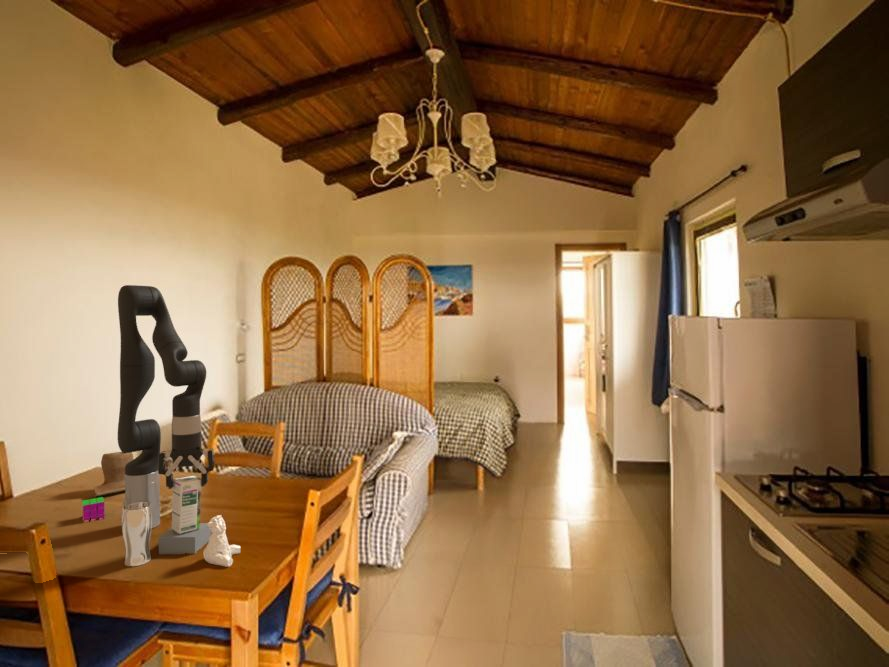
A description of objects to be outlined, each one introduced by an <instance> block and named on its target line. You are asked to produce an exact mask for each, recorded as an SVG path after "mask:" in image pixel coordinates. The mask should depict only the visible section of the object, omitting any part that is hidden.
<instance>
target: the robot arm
mask: <svg viewBox="0 0 889 667" xmlns="http://www.w3.org/2000/svg"><path fill="white" fill-rule="evenodd" d="M117 308H118V311H117V312H118V321H119V332H120V356H119V379H120V380H119V382H120V383H119V384H120V389H119V390H120V394H119V395H120V397H119V400H120V401H119V415H118V424H117V444H118V448H119V450H120V452H124V453H131V452H132V453H135V452H139V451H140V454H139V455H137V457H136V458H133V459H134V460H132V461H130V462H129V463H127V464H126V465H125V491H124V492H125V494H124V495H125V496H124V499H123V500H122V508H123V507H124V506H126V505H128V504H131V503H136V502H150V503H151V511H152V528H151V529H154V528H156V527H158V526H159V525H160V524H161V503H160V501H161V500H160V495H161V494H160V475H164V476H165V487H166V488H168V490H173V479H174V474H173V472H174V470H176V468H177V467H180V468H185V467H193V466H195V467H196V468H197V469H199V471H200V472H201V475H200V476H201V478H200V479H201V488H202V487H205V486H206V485H207V484H208V481H209V476H208V475H209V472H212V471H214V469H215V467H216V464H215V455H214V454H215V452H214V449H213V448H210V449H205V450H203V448H202V428H203V427H202V419H201V396H202V393H203V390H204V386H205V384H206V379H207V369H206V366H205V364H204V363H203V362H202V361H201V360H199V359H198V360H196V359H193V360H192V359H191V360H185V359H186V358H187V356H188V350H187V347H186V346H185V344H184V342H183V341H182V339H181V337H180V335H179V333H177V330H176V329H175V326H174V323H173V320H172V319H171V315H170V313H169V310H168V307H167V305H166V301H165V298H164V296H163V295H162V293H161V291H160V289H159V288H157V287H156V286H150V285H135V284H134V285H133V284H130V285H129V284H127V285H125V284H124V285H123V286H122V287H120V288H119V291H118V294H117ZM137 316H140V317H142V316H143V317H145V316H146V317H147V316H149V317H150V316H151V317H152V318H153V319H154V320H155V326H154V329H153V332H152V336H151V337H152V338H151V339H152V343H153V347H154V349H155V351H156V352H157V353H158V355H159V357H160V359H161V362H162V368H163V374H164V379H165V381H166V383H167V384H169V385H171V387H177V388H178V387H184V386H185V387H186V386H187V387H186V389H185V391H183V392H180V393H179V394H176V395H174V396H173V398H172V403H171V404H172V405H171V406H172V410H171V412H172V413H171V414H172V419H171V452H170V451H169V452H167V451H165V450H163V451H162V452H161V445H162V444H161V443H162V442H161V440H162V438H161V436H162V435H161V434H162V433H161V427H160V426H161V425H160V424H159V423H158V421H157V420H156V419H154V418H153V419H152V418H147V419H142V420H136V417H137V413H138V409H139V407H140V404H141V403H142V401H143V399H144V398H145V396H146V395H147V393H148V392H149V390H150V389H151V387H152V385H153V383H154V380H155V376H156V373H155V371H156V370H155V369H156V363H155V362H156V359H155V358H156V357H155V356H154V353H153V351H152V350H151V349H150V347H149V346H148V344H147V343H146V342H145V340H144V339H143V337H142V336H141V334H140V332H139V329H138V323H137ZM203 455H204V456H205V458H207V463H208V466H206V464H205V462H204V461H203V460H202V459H201V457H203ZM169 457H170V458H171V459H172V461H173V463H172V465H171V466H170V467H169V468H166V466H167V465H166V464H167V460H168V459H169Z"/></svg>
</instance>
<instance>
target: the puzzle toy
mask: <svg viewBox="0 0 889 667" xmlns="http://www.w3.org/2000/svg"><path fill="white" fill-rule="evenodd" d="M81 509H82V510H81V511H82V516H83V518H82V522H83V521H85V520H90V518H91V519H97V520H98V518H104V517H105V516H106V515H105V500H104V497H103V496H99V497H96V498H95V497H94V498H91V499H84V500H81ZM97 516H98V518H97ZM90 521H91V520H90Z"/></svg>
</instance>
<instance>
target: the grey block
mask: <svg viewBox="0 0 889 667" xmlns="http://www.w3.org/2000/svg"><path fill="white" fill-rule="evenodd" d="M207 523H208V522H200V529H197V530H193V531H189V532H185V533H182V534H179V533H177V532H176V531H174V530H173V529H172V527H170V528H169V529H168V530H166V531H165V532H164V533H163V534H161V535H160V536H158V555H186V554H185V553H187V555H189V554H190V555H192V554H193V555H194V554H195V555H196V554H197V553H198V552H197V551H198V550H199V549H200V550H201V549H202V548H203V547H204V546H205V545H206V544H208V541H209V537H210V535H212V532H211V530H210V529H209V527H208V526H207ZM200 550H199V551H200ZM188 553H189V554H188Z"/></svg>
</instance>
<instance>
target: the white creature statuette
mask: <svg viewBox="0 0 889 667" xmlns="http://www.w3.org/2000/svg"><path fill="white" fill-rule="evenodd" d="M206 523H207V526H208V527H209V529H210V530H211V535H210V537H209V541H208V542H207V545H206V547H205V548H204V549H203V551H202V552H203V553H202V554H203V558H204V561H205V562H207V563H208V564H211V565H215V566H222V567H225V568H228V567H231V566H232V565H233V563H234V559H233V558H232V556H233V555H238V554H241V545H238V544H234V543H233V544H229V541H228V537H227V534H226V530H227V527H226V521H225V520H224V518H223V517H222V514H220V515H219V514H217V515H215V516H213V517H212V518H210V520H209V522H206Z"/></svg>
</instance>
